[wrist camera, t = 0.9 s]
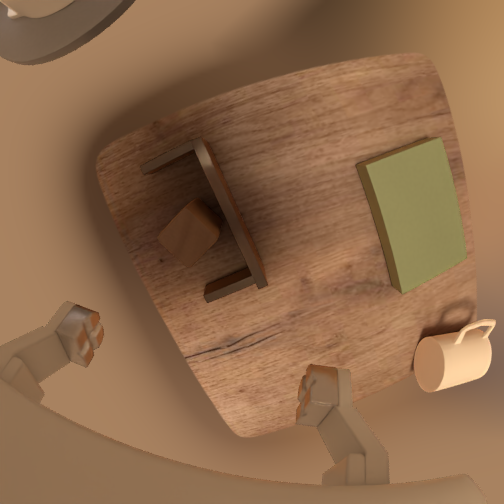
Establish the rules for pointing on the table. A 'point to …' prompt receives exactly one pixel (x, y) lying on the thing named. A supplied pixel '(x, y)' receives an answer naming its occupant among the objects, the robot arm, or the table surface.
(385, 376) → the table surface
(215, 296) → the frame
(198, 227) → the wooden block
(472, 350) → the cup
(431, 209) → the board
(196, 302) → the table surface
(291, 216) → the table surface
